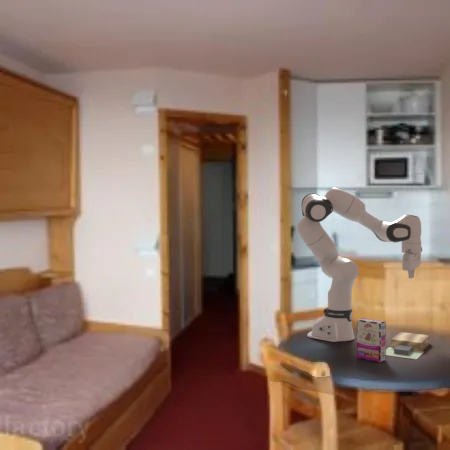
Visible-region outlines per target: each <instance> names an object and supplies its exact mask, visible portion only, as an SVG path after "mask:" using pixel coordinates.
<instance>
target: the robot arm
mask: <svg viewBox="0 0 450 450" xmlns="http://www.w3.org/2000/svg"><path fill="white" fill-rule="evenodd" d="M301 213H302V216H303V218H302V219H300V220H299V222H298V223H297V226H296V230H297V231H298V234H299V235H300V238H301V239H302V241H303V242H304V244H305V245H306V246H307V247H308V249H309V250H310V252H311V253H312V254H313V255H314V257H315V258H316V259H317V262H318V264H319V266H320V268H321V272H322V273H323V274H324V275H325V276H327V277H328V278H330V279H332V280H331V285H330V288H329V290H328V292H327V306H326V307H325V308H324V309H323V310H322V313H323V316H322V317H320V318H319V319H317V320H316V321H315V322H313V324H312V326H311V331H309V332H308V333H307V338H311V339H315V340H316V339H317V340H321V341H327V342H330V343H336V342H337V343H338V342H348V341H353V340H355V337H356V336H355V335H354V330H353V322H352V321H353V308H352V294H353V293H352V292H353V288H354V283H355V281H356V280H357V278H358V276H359V273H360V268H359V266H358V264H357V263H356V262H354V260H351V259H349V258H345V257H343V256H341V255H340V254H339V252H338V250H337V248H336V243H335V242H334V240H333V239H332V238H331V236H330V235H329V234H328V232H327V231H326V230H325V229H324V228H323V226H322V224H321V222H322V221H324V220H325V219H327V217H328V216H330V215H331V214H332V213H336V214H337V215H340V217H343V218H344V219H347V220H349V221H352V222H356V223H359V224H360V225H362V226H364V227H365V228H367V229H368V230H370V231H371V232H372V233H373V234H374V235H375V237H376V238H377V239H378V240H379V241H380V242H383V243H385V242H387V243H394V244H395V243H400V242H401V253H402V254H403V255H402V271H407V273H408V278H409V279H414V278H415V271H416V268H419V267H420V265H421V257H422V252H423V247H422V240H421V236H422V222H421V219H420V217H419V216H418V215H413V214H404V215H403V216H401V217H399V218H398V219H396V220H394V221H387V220H380V219H378V218H377V217H375V216H374V215H372V214H371V213H369V212H367V210H366V204H365V203H364V202H363V201H362V200H361V199H360V198H358V197H357V196H355V194H352V193H350V192H348V191H346V190H343V189H341V188H337V187H331V188H330V189H329V190H328V191H327V192H326V193H325V194H324V195H323V196H321V195H319V194H317V193H314V192H313V193H308V194H306V195H305V196H304V197H303V198H302V200H301Z"/></svg>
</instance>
